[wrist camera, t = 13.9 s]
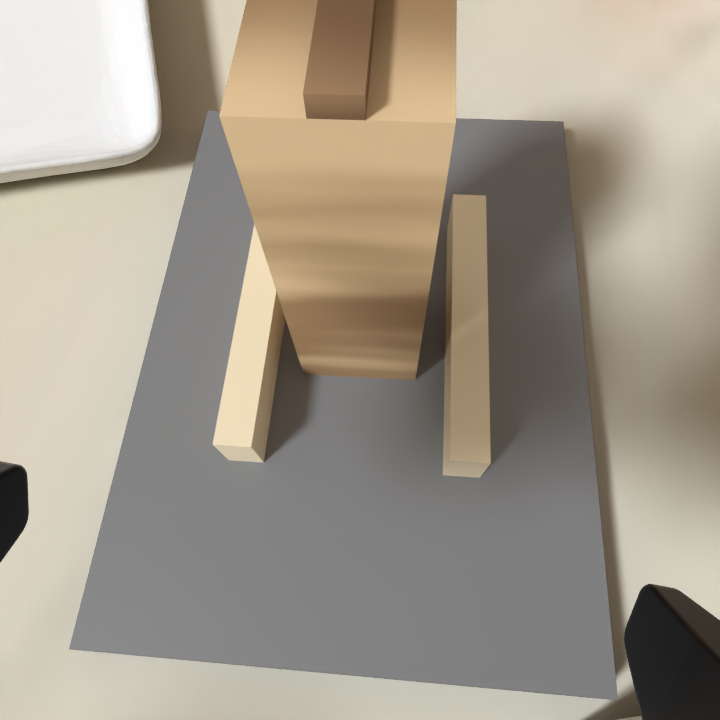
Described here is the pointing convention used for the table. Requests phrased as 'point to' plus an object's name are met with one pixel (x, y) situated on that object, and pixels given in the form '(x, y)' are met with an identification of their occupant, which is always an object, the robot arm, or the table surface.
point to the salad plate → (75, 86)
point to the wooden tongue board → (346, 168)
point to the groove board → (368, 456)
